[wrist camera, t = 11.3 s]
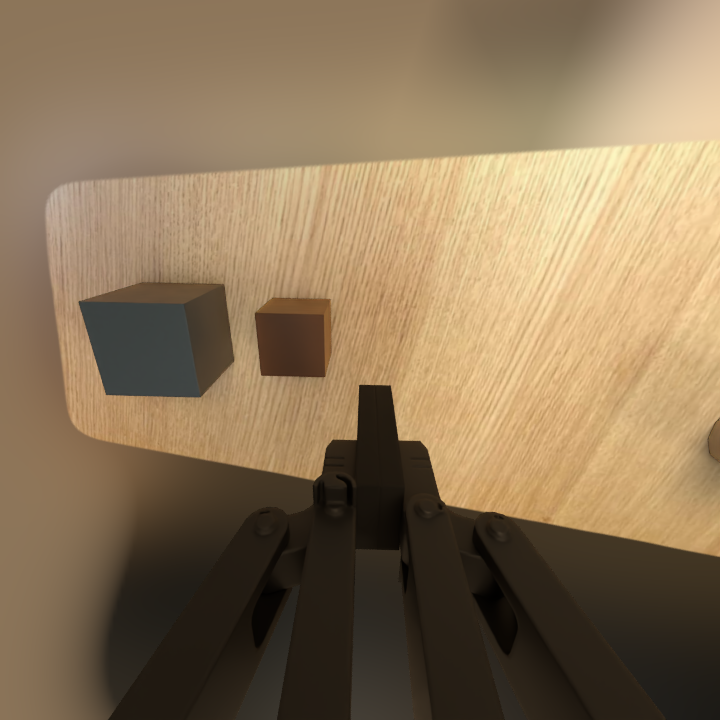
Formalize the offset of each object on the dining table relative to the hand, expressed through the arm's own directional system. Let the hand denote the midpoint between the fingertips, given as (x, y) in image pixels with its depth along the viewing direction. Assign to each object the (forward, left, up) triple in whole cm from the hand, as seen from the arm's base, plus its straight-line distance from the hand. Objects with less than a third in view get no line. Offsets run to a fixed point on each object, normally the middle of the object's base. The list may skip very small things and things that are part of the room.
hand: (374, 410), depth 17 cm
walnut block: (+5, -3, -15) cm, 16 cm away
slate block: (+14, -8, -15) cm, 22 cm away
